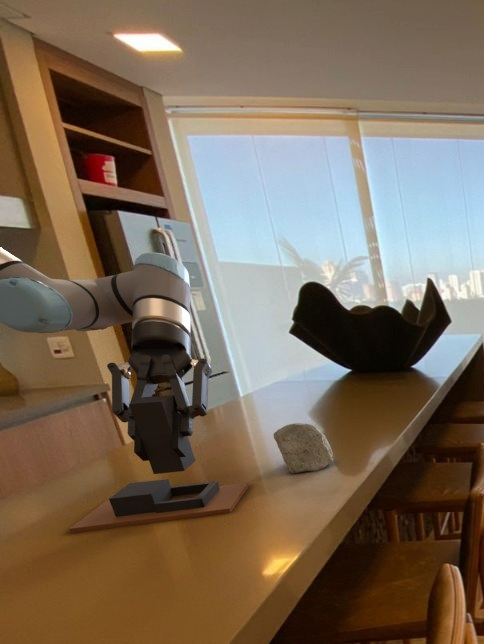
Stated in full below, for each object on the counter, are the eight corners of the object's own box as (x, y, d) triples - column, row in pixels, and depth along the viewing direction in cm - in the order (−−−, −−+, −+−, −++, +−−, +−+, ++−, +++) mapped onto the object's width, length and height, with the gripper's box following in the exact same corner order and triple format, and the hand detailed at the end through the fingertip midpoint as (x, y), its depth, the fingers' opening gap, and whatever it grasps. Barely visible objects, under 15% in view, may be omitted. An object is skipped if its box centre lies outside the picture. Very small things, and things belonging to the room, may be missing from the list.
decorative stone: (322, 476, 107) (338, 428, 110) (257, 461, 104) (275, 411, 106) (330, 490, 119) (344, 446, 121) (272, 476, 115) (288, 431, 118)
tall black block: (153, 474, 88) (128, 403, 84) (166, 464, 93) (143, 397, 89) (184, 471, 89) (161, 401, 85) (195, 461, 94) (174, 395, 90)
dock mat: (71, 535, 83) (60, 509, 82) (111, 503, 95) (102, 481, 94) (231, 514, 90) (223, 490, 89) (249, 487, 102) (243, 466, 101)
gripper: (230, 346, 101) (234, 459, 93) (110, 352, 95) (104, 473, 87) (213, 316, 94) (217, 435, 86) (84, 320, 88) (74, 448, 80)
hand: (160, 454), depth 87 cm, fingers closed on tall black block, 4 cm apart
